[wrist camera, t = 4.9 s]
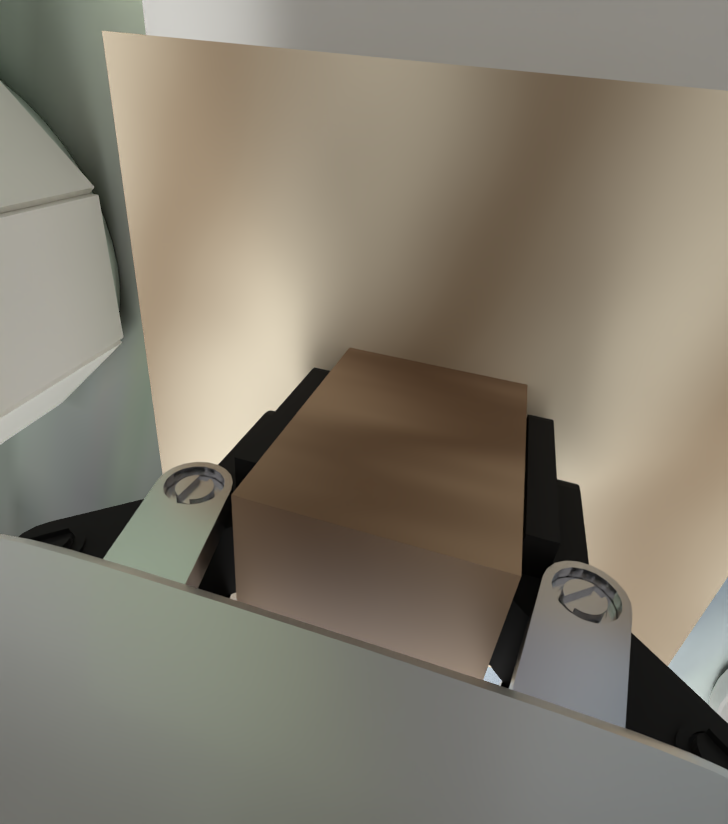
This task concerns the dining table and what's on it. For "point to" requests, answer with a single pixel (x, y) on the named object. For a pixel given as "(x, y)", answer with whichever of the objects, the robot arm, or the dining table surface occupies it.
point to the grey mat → (479, 33)
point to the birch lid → (434, 324)
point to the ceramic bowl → (49, 271)
